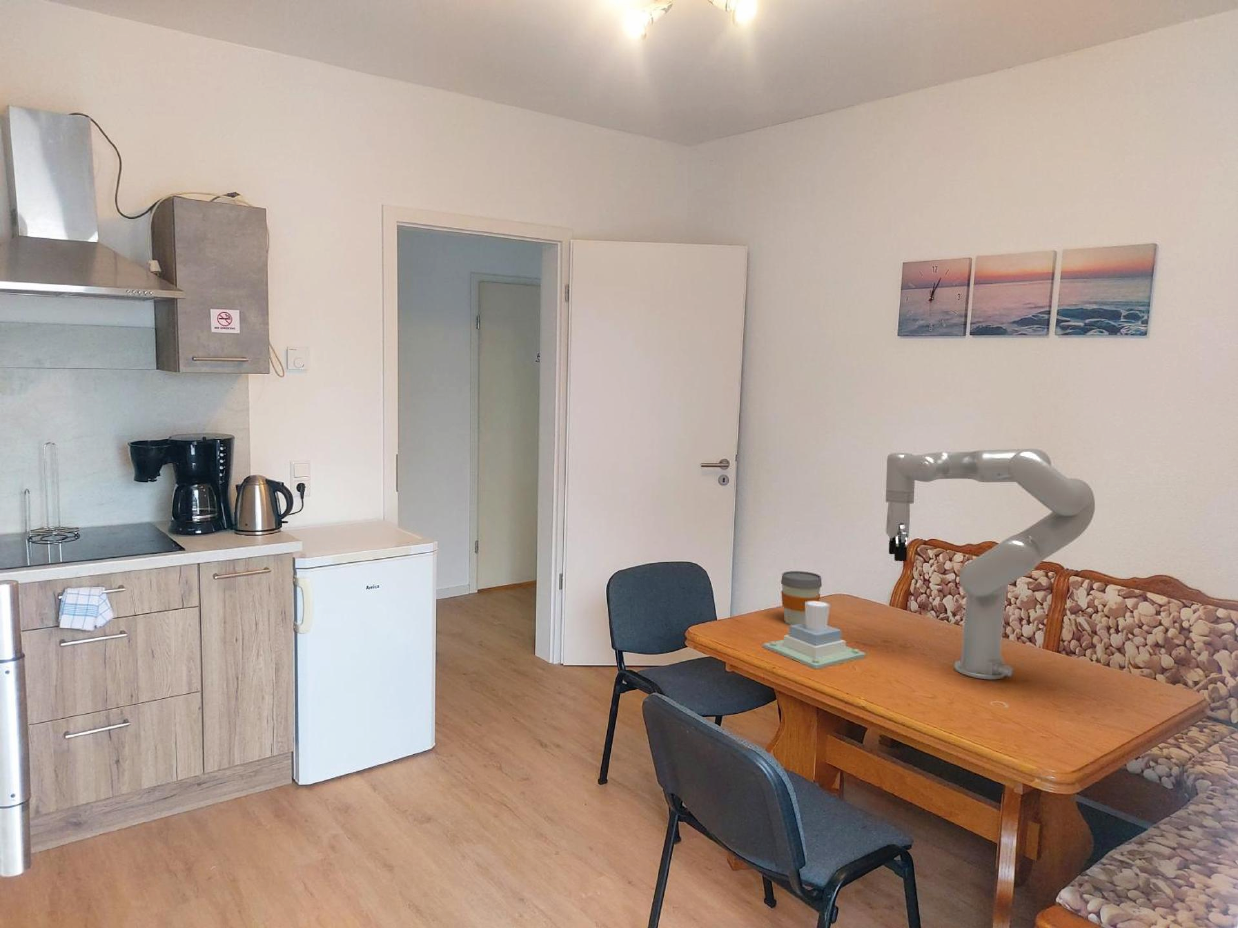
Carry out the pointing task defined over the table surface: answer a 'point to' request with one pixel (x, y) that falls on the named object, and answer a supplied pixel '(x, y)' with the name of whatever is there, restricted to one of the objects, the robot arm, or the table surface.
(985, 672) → the robot arm
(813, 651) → the stepped tiered stack
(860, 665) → the table surface
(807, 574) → the reusable coffee cup
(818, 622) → the white tapered cup
